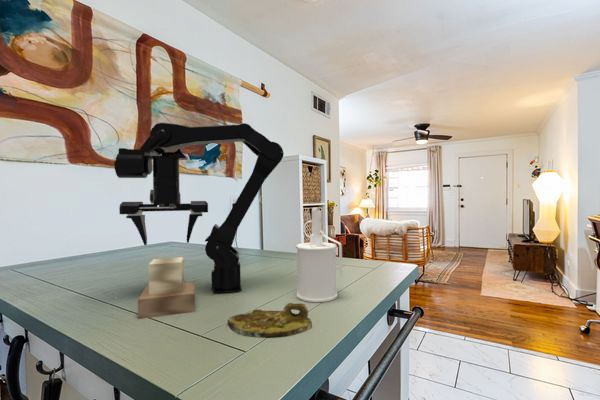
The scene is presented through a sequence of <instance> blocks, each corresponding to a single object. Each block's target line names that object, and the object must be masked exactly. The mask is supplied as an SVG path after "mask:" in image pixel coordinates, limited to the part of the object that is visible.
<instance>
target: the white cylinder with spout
mask: <svg viewBox="0 0 600 400" xmlns="http://www.w3.org/2000/svg"><path fill="white" fill-rule="evenodd" d="M310 222H311V234H307V232H306V225H307V224H308V223H310ZM303 233H304V235H305V236H306V237H307V238H309V242H302V243H297V244H296V245H295V249H296V256H297V257H296V259H297V260H296V263H297V266H296V267H297V291H296V297H297V298H298V300H301V301H304V302H309V303H326V302H330V301H333V300H336V299H337V298H338V292H337V261H336V260H337V259H336V257H337V256H336V255H337V254H336V253H337V251H336V250H337V247H338V260H339V261H338V264H339V267H338V268H339V269H338V271H339V280H342V279H343V252H342V251H343V249H342V248H343V247H342V243H341V242H339V241H338V240H336V239H334V238H332V237H330V236H328V235H326V234H325V231H323V230H322V211H321V210H319V207H312V209H311V220H308V221H306V222H304V225H303ZM323 238H324V239H327V240H329V241H331V242H332V243H331V242H325V241H324V242H323ZM337 245H338V246H337Z"/></svg>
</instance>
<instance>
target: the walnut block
mask: <svg viewBox="0 0 600 400" xmlns="http://www.w3.org/2000/svg"><path fill="white" fill-rule="evenodd" d="M195 307H196V281H195V280H191V281H184V286H183V290H182V292H177V293H166V294H156V295H149V285H145V287H144V289H143V291H142V292H141V294H140V295H139V297H138V299H137V319H138V320H139V319H148V318H155V317H156V318H157V317H163V316H172V315H173V316H174V315H179V314H181V315H182V314H187V313H195V311H196V309H195Z"/></svg>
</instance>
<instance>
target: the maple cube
mask: <svg viewBox="0 0 600 400" xmlns="http://www.w3.org/2000/svg"><path fill="white" fill-rule="evenodd" d="M184 259H185V258H184V256H181V257H179V256H178V257H166V258H165V257H162V258H154V259H152V260H151V261H150V262H149V263H148V286H149V295H156V294H166V293H177V292H182V290H183V286H184V282H185V274H184V273H185V270H184V269H185V268H184V266H185V265H184V264H185V261H184Z"/></svg>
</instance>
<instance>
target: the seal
mask: <svg viewBox="0 0 600 400" xmlns="http://www.w3.org/2000/svg"><path fill="white" fill-rule="evenodd" d="M292 310H296V311H299V312H298V313H294V312H292ZM308 316H309V309H308V307H307V305H306V304H304V303H294V302H293V303H292V302H289V303H287V304H285V306H284V308H283V310H262V309H253V310H252V311H251V312H247V313H240V314H235V315H232V316H229V318H228V319H227V325H229V327H230V328H231V331H232V332H234V333H236V334H238V335H241V336H244V337H250V338H251V337H252V338H262V339H265V338H266V339H267V338H270V339H271V338H285V337H290V336H296V335H299V334H301V333H305V332H306V331H307V332H308V331H309V330H311V329H312V327H313V324H312V319H311V318H309V317H308Z"/></svg>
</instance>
